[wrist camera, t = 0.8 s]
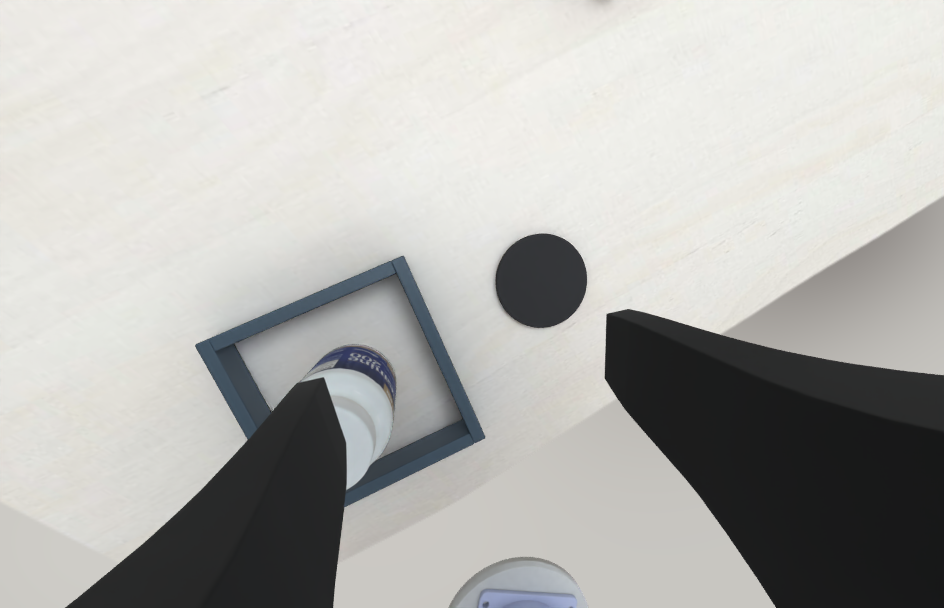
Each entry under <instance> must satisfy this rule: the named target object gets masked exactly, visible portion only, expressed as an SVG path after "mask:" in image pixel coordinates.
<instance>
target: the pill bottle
mask: <svg viewBox="0 0 944 608" xmlns="http://www.w3.org/2000/svg"><path fill="white" fill-rule="evenodd" d="M322 377H324V378H325V381H326V384H327V387H328V390H329V393H330V396H331V399H332V402H333V405H334V408H335V411H336V414H337V417H338V420H339V423H340V426H341V428H342V431H343V434H344V437H345V440H346V450H347V486H346V490H347V489H349V488H350V487H352V486H353V485H355V484H356V483H357V482H358V481H359V480H360V479H361V478H362V477H363V476H364V475H365V473H366V472H367V470H368V468H369V466H370V465H371V464H372V463H373V462H374V461H375V460H376V459H377V458H378V457H379V456H380V455H381V454H382V452H383V451H384V449H385V447H386V446H387V443H388V441H389V439H390V436H391V432H392V427H393V418H394V408H395V396H396V377H395V373H394V370H393V368H392V366H391V364H390V362H389V361H388V360H387V358H386V357H385V356H383V355H382V354H381V353H380V352H378V351H377V350H375V349H373V348H371V347H368V346H365V345H357V344H352V345H345V346H341V347H338V348H336V349H334V350H332V351H331V352H329V353H328V354H326V355H325V356H324V357H323V358H322V359H321V360H320V361H319V362H318V363H317V364H316V365H315V366H314V367H313V368H312V369H311V370H310V372H309V373H308V374H307V375H306V376H305V377H304V378H303V379H302V380H301V381H300V382H304V381H308V380H313V379H317V378H322Z"/></svg>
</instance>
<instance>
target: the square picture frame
mask: <svg viewBox="0 0 944 608" xmlns="http://www.w3.org/2000/svg"><path fill="white" fill-rule="evenodd" d="M396 273H397V275H398V277H399V280H400V282H401V284H402V286H403V288H404V291H405V293H406V295H407V297H408V299H409V302H410V304H411V306H412V308H413V310H414V312H415V315H416V317H417V319H418V321H419V323H420V326H421V328H422V330H423V332H424V334H425V337H426V339H427V341H428V343H429V345H430V347H431V350H432V352H433V354H434V356H435V358H436V361H437V363H438V365H439V367H440V369H441V371H442V374H443V376H444V378H445V380H446V382H447V385H448V387H449V389H450V391H451V393H452V396H453V398H454V400H455V402H456V404H457V406H458V409H459V411H460V413H461V415H462V417H463V419H462V420H460V421H458V422H456V423H454V424H452V425H450V426H447V427H445V428H443V429H441V430H439V431H437V432H435V433H433V434H431V435H429V436H427V437H425V438H423V439H420V440H418V441H416V442H414V443H412V444H410V445H408V446H406V447H404V448H402V449H400V450H398V451H396V452H393V453H391V454H389V455H387V456H385V457H383V458H381V459H379V460H377V461H375V462H373V463H372V464H371V465H370V466H369V468H368V470H367V472H366V473H365V475H364V476H363V477H362V478H361V479H360V480H359V481H358V482H357V483H356V484H355V485H353V486H352V487H350V488H349V489H347V490H346V495H345V504H344V507H346V506H348V505H350V504H352V503H354V502H356V501H358V500H360V499H362V498H364V497H366V496H368V495H370V494H373V493H375V492H377V491H379V490H381V489H383V488H385V487H387V486H389V485H391V484H393V483H395V482H397V481H399V480H401V479H403V478H405V477H407V476H409V475H411V474H413V473H415V472H417V471H419V470H422V469H424V468H426V467H428V466H430V465H432V464H434V463H436V462H438V461H440V460H442V459H444V458H446V457H448V456H450V455H452V454H454V453H456V452H458V451H460V450H462V449H464V448H466V447H468V446H471V445H473V444H474V443H476V442H478V441H481V440H483V439H485V435H484V433H483V431H482V428H481V426H480V424H479V421H478V419H477V417H476V415H475V413H474V410H473V408H472V406H471V404H470V401H469V399H468V397H467V395H466V393H465V390H464V388H463V386H462V384H461V382H460V379H459V377H458V375H457V373H456V370H455V368H454V366H453V364H452V362H451V359H450V357H449V355H448V353H447V350H446V348H445V346H444V344H443V342H442V339H441V337H440V335H439V333H438V331H437V328H436V326H435V324H434V322H433V319H432V317H431V315H430V313H429V311H428V308H427V306H426V304H425V302H424V299H423V297H422V295H421V293H420V291H419V288H418V286H417V284H416V282H415V280H414V277H413V275H412V273H411V271H410V268H409V266H408V264H407V262H406V260H405V257H404V256H401V257H398V258H396V259H394V260H392V261H389V262H387V263H384V264H382V265H380V266H377V267H375V268H373V269H370V270H368V271H366V272H363V273H361V274H359V275H356V276H354V277H352V278H349V279H347V280H345V281H342V282H340V283H338V284H335V285H333V286H331V287H328V288H326V289H324V290H321V291H319V292H317V293H314V294H312V295H310V296H307V297H305V298H303V299H300V300H298V301H296V302H293V303H291V304H289V305H286V306H284V307H282V308H279V309H277V310H275V311H272V312H270V313H268V314H265V315H263V316H261V317H258V318H256V319H254V320H251V321H249V322H247V323H244V324H242V325H240V326H237V327H235V328H233V329H230V330H228V331H226V332H223V333H221V334H219V335H216V336H214V337H212V338H210V339H207V340H205V341H202V342H200V343H198V344H196V345H195V347H196V348H197V350H198V352H199V354H200V355H201V357H202V359H203V361H204V363H205V364H206V366H207V368H208V370H209V372H210V373H211V375H212V377H213V379H214V380H215V382H216V384H217V386H218V388H219V389H220V391H221V393H222V395H223V396H224V398H225V400H226V402H227V404H228V405H229V407H230V409H231V411H232V412H233V414H234V416H235V418H236V420H237V421H238V423H239V425H240V427H241V429H242V430H243V432H244V434H245V436H246V437H247V439H249V438H250V437H251V436H252V435H253V434H254V432H255V431H256V430H257V429H258V428H259V427H260V426H261V424H262V423H263V422H264V421H265V420H266V419H267V417H268V416H269V415H270V414H271V411H270V410H269V408H268V406H267V404H266V402H265V400H264V399H263V397H262V395H261V393H260V391H259V389H258V388H257V386H256V384H255V382H254V380H253V378H252V377H251V375H250V373H249V371H248V369H247V367H246V365H245V364H244V362H243V360H242V358H241V356H240V354H239V353H238V351H237V349H236V347H235V345H234V343H237V342H239V341H241V340H243V339H246V338H248V337H250V336H253V335H255V334H257V333H260V332H262V331H264V330H267V329H269V328H271V327H273V326H276V325H278V324H280V323H283V322H285V321H287V320H290V319H292V318H294V317H297V316H299V315H301V314H304V313H306V312H308V311H310V310H313V309H315V308H317V307H320V306H322V305H324V304H327V303H329V302H331V301H334V300H336V299H338V298H341V297H343V296H345V295H347V294H350V293H352V292H354V291H357V290H359V289H361V288H364V287H366V286H368V285H371V284H373V283H375V282H378V281H380V280H382V279H384V278H387V277H389V276H391V275H394V274H396Z"/></svg>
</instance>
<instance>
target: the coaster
mask: <svg viewBox="0 0 944 608" xmlns="http://www.w3.org/2000/svg"><path fill="white" fill-rule="evenodd" d="M586 286H587V272H586V268H585V264H584V261H583V259H582V257H581V255H580V254H579V252H578V251H577V250H576V249H575V247H574V246H573V245H571V244H570V243H569V242H568V241H566V240H565V239H563V238H560V237H558V236H555V235H551V234H535V235H531V236H527V237H525V238H522V239H521V240H519V241H517V242H516V243H515V244H513V245H512V246H511V247H510V248H509V249H508V250H507V251H506V253H505V254H504V256H503V257H502V259H501V261H500V263H499V266H498V269H497V274H496V289H497V294H498V297H499V300H500V302H501V304H502V306H503V308H504V309H505V310H506V312H507V313H508V314H509V315H510V316H511V317H513V318H514V319H515V320H517V321H519V322H520V323H522V324H525V325H527V326H531V327H537V328H545V327H551V326H554V325H557V324H559V323H561V322H563V321H565V320H566V319H568V318H569V317H570V316H571V315H572V314H573V313H574V312H575V311H576V310H577V308H578V307H579V306H580V304H581V302H582V300H583V298H584V295H585V291H586Z"/></svg>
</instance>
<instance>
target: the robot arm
mask: <svg viewBox="0 0 944 608" xmlns="http://www.w3.org/2000/svg"><path fill="white" fill-rule="evenodd" d="M605 379H606V381H607V383H608V384H609V386H610V387H611V389H612V391H613V392H614V394H615V395H616V397H617V398H618V400H619V401H620V403H621V404H622V406H623V407H624V408H625V410H626V411H627V412H628V413H629V415H630V416H631V417H632V418H633V419H634V420H635V422H636V423H637V424H638V425H639V426H640V427H641V429H642V430H643V431H644V432H645V433H646V434H647V435H648V437H649V438H650V439H651V440H652V441H653V442H654V443H655V444H656V446H658V448H659V449H660V450H661V451H662V453H663V454H664V455H665V456H666V457H667V458H668V459H669V460H670V462H671V463H672V464H673V465H674V466H675V467H676V468H677V470H678V471H679V472H680V473H681V474H682V475H683V476H684V478H685V479H686V480H687V481H688V482H689V484H690V485H691V486H692V487H693V488H694V490H695V491H696V492H697V493H698V495H699V496H700V497H701V499H702V500H703V501H704V502H705V504H706V506H707V507H708V508H709V510H710V511H711V513H712V514H713V515H714V517H715V518H716V519H717V521H718V522H719V524H720V525H721V526H722V528H723V529H724V530H725V532H726V533H727V535H728V536H729V537H730V539H731V541H732V542H733V544H734V545H735V546H736V548H737V549H738V551H739V552H740V554H741V555H742V557H743V558H744V560H745V561H746V563H747V564H748V565H749V567H750V568H751V570H752V571H753V573H754V574H755V576H756V577H757V579H758V580H759V582H760V583H761V585H762V586H763V588H764V590H765V591H766V593H767V594H768V596H769V597H770V599H771V601H772V602H773V604H774V605H775V607H776V608H944V375H935V374H925V373H917V372H907V371H900V370H892V369H885V368H878V367H871V366H863V365H856V364H850V363H844V362H838V361H832V360H826V359H822V358H816V357H811V356H806V355H801V354H796V353H791V352H786V351H782V350H777V349H773V348H768V347H765V346H761V345H757V344H753V343H748V342H745V341H741V340H737V339H734V338H730V337H726V336H723V335H719V334H716V333H712V332H709V331H705V330H702V329H699V328H695V327H692V326H689V325H685V324H682V323H679V322H675V321H672V320H669V319H665V318H662V317H659V316H655V315H651V314H648V313H644V312H640V311H635V310H630V309H627V310H622V311H618V312H613V313H609V314H607V320H606V354H605ZM346 486H347V450H346V440H345V437H344V434H343V431H342V428H341V426H340V423H339V420H338V417H337V414H336V411H335V408H334V405H333V402H332V399H331V396H330V393H329V390H328V387H327V384H326V381H325V378H324V377H322V378H317V379H313V380H308V381H304V382H299V383H297V384H296V385H295V386H294V387H293V388H292V389H291V390H290V391H289V393H288V394H287V395H286V396H285V397H284V398H283V400H282V401H281V402H280V403H279V404H278V405H277V407H276V408H275V409H274V410H273V411H272V413H271V414H270V415H269V416H268V417H267V419H266V420H265V421H264V422H263V423H262V424H261V426H260V427H259V428H258V429H257V430H256V431H255V432H254V434H253V435H252V436H251V437H250V438H249V439H248V441H247V442H246V443H245V444H244V445H243V446H242V447H241V448H240V449H239V451H238V452H237V453H236V454H235V455H234V456H233V457H232V458H231V459H230V460H229V461H228V462H227V463H226V464H225V465H224V466H223V468H222V469H221V470H220V471H219V472H218V473H217V474H216V475H215V476H214V477H213V478H212V479H211V480H210V481H209V482H208V483H207V485H206V486H205V487H204V488H203V489H202V490H201V491H200V492H199V493H198V494H197V495H195V496H194V497H193V498H192V499H191V500H190V501H189V502H188V503H187V504H186V505H185V506H184V507H183V508H182V509H181V510H180V511H179V512H178V513H177V514H175V515H174V516H173V517H172V518H171V519H170V520H169V521H168V522H167V523H166V524H165V525H163V526H162V527H161V528H160V529H159V530H158V531H157V532H156V533H155V534H154V535H152V536H151V537H150V538H149V539H148V540H147V541H146V542H145V543H143V544H142V545H141V546H140V547H139V548H137V549H136V550H135V551H134V552H133V553H131V554H130V555H129V556H128V557H127V558H125V559H124V560H123V561H122V562H121V563H119V564H118V565H117V566H116V567H114V568H113V569H112V570H111V571H110V572H108V573H107V574H106V575H105V576H104V577H103V578H101V579H100V580H99V581H98V582H96V583H95V584H94V585H93V586H91V587H90V588H89V589H88V590H87V591H86V592H84V593H83V594H82V595H81V596H79V597H78V598H77V599H76V600H74V601H73V602H72V603H71V604H69V605H68V606H67V607H65V608H333V601H334V589H335V579H336V571H337V562H338V554H339V546H340V538H341V529H342V521H343V512H344V504H345V495H346ZM486 601H487V603H485V604H484V602H486ZM576 606H577V599H576V597H575V596H574V595H572V594H558V593H543V592H527V591H512V590H496V589H485V590H483V591H482V592H481V593H480V597H479V601H478V606H477V608H568V607H570V608H576Z"/></svg>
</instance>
